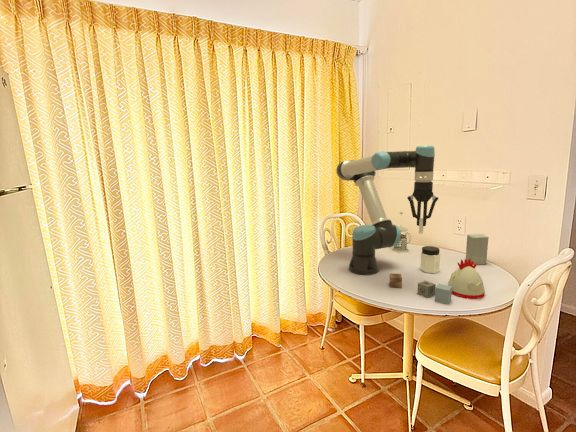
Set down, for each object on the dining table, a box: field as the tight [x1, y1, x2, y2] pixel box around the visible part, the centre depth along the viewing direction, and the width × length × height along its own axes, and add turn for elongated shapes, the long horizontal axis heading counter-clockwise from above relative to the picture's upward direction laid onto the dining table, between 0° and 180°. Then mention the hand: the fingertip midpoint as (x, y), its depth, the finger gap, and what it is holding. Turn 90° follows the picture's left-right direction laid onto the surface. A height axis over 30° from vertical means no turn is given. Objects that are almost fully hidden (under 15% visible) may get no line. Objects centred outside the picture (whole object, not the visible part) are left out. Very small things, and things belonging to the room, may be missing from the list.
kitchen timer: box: [447, 258, 485, 300], centre depth 129 cm, size 14×14×15 cm
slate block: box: [434, 283, 453, 305], centre depth 123 cm, size 5×5×6 cm
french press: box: [391, 211, 412, 254], centre depth 189 cm, size 10×12×25 cm
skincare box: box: [465, 233, 489, 265], centre depth 163 cm, size 8×7×16 cm
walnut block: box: [389, 273, 403, 289], centre depth 139 cm, size 5×5×5 cm
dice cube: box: [416, 280, 437, 299], centre depth 129 cm, size 5×5×5 cm
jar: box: [419, 245, 441, 274], centre depth 155 cm, size 9×8×12 cm
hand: (420, 232), depth 138 cm, fingers closed
